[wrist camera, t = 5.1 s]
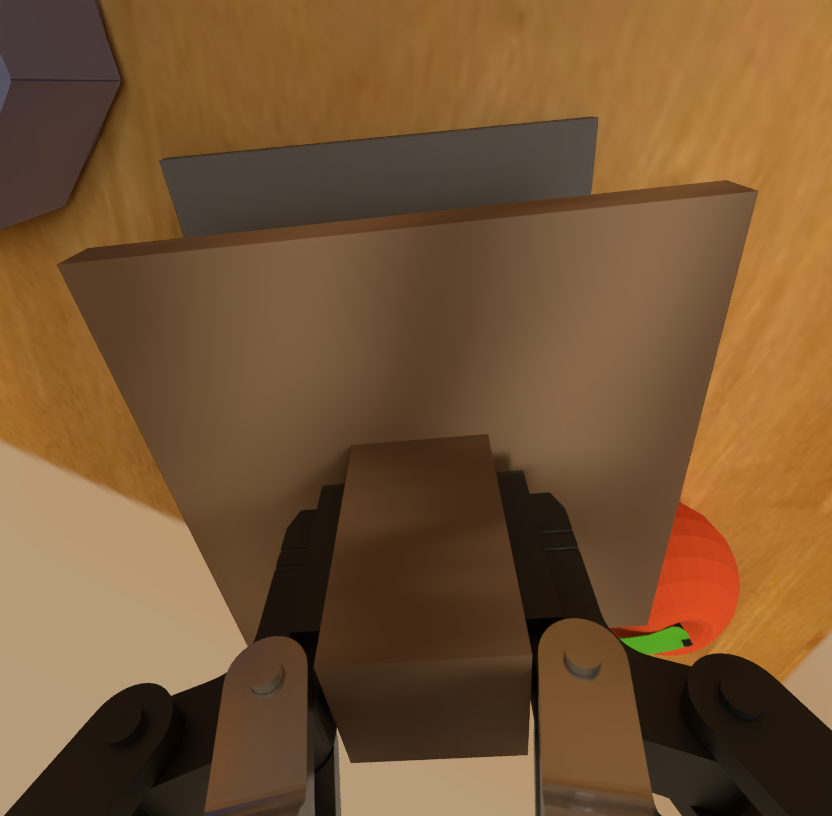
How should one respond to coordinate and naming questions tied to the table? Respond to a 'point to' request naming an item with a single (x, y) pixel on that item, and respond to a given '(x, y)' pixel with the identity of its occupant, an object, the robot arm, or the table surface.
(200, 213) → the mat
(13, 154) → the bowl
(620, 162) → the table surface
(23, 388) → the table surface
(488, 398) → the lid
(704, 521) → the clementine
